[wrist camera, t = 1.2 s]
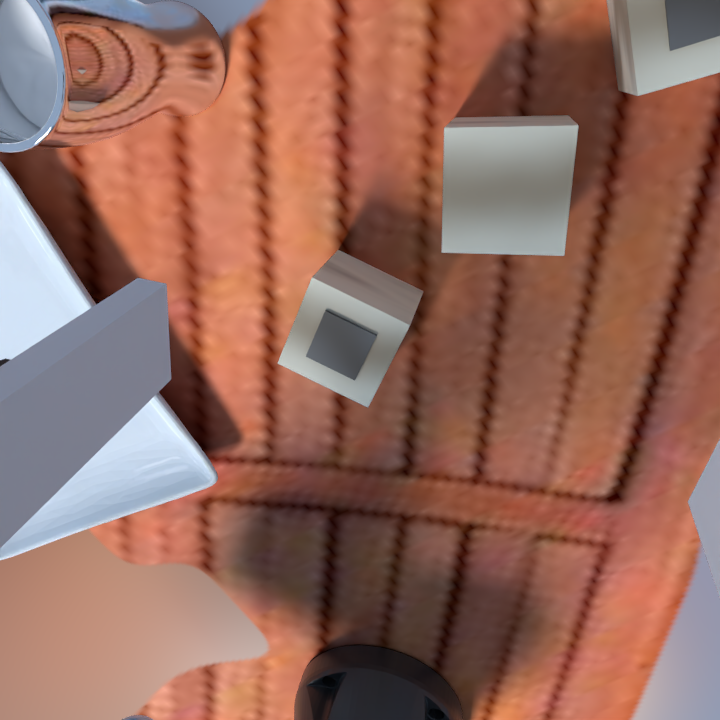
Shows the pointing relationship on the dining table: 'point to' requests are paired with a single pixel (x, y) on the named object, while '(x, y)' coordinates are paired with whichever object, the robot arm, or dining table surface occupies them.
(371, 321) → the marked block
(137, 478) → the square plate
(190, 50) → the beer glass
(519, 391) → the dining table surface
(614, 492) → the dining table surface
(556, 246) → the plain block
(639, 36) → the marked block
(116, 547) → the dining table surface
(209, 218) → the dining table surface
